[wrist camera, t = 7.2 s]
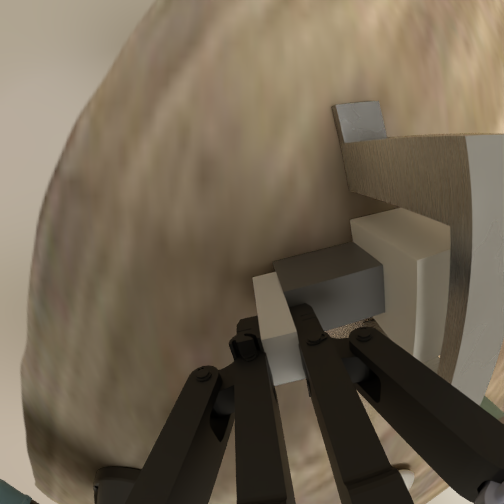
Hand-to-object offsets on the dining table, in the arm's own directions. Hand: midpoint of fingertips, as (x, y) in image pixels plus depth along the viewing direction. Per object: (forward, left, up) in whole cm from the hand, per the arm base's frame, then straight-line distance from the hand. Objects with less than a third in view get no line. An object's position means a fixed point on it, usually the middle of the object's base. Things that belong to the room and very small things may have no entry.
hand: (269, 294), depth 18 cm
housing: (+8, 0, -2) cm, 8 cm away
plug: (+8, 0, -2) cm, 9 cm away
